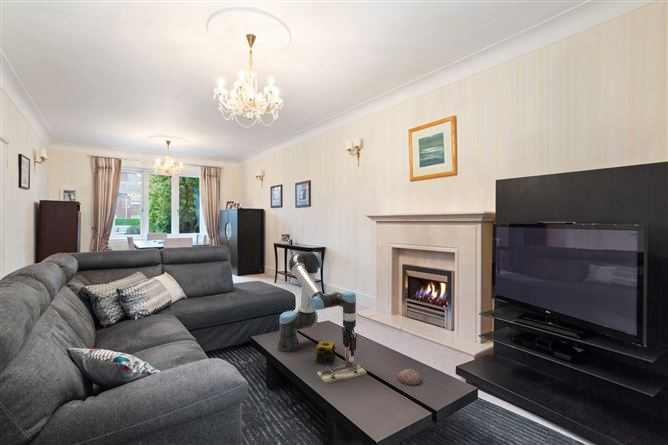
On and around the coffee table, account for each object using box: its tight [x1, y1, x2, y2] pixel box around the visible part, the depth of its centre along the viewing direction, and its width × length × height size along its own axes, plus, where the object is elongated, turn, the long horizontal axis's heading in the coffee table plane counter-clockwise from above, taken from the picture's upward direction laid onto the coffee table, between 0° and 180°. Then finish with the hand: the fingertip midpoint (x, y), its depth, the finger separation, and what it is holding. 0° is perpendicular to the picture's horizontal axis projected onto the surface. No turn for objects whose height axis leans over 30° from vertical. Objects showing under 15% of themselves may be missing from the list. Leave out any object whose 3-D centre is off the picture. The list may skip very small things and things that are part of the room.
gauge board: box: [317, 364, 368, 385], centre depth 181 cm, size 12×25×1 cm, turn 117°
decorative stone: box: [397, 368, 422, 386], centre depth 174 cm, size 12×12×6 cm
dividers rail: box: [320, 362, 359, 378], centre depth 181 cm, size 9×23×3 cm, turn 117°
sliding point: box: [344, 346, 357, 372], centre depth 184 cm, size 10×4×11 cm, turn 27°
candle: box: [315, 340, 336, 365], centre depth 199 cm, size 10×10×10 cm
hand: (349, 359), depth 187 cm, fingers open, 4 cm apart
